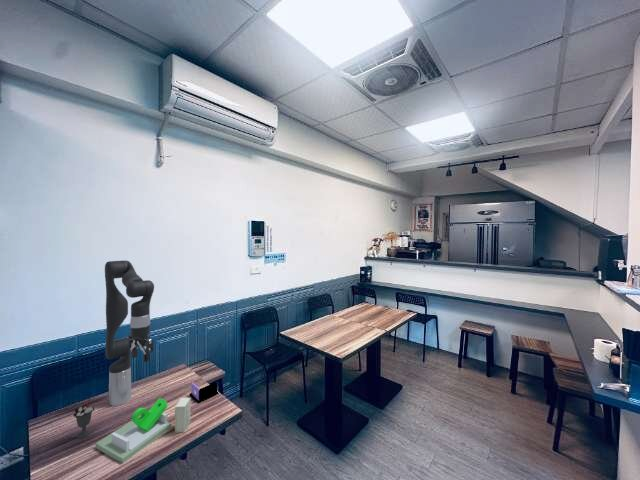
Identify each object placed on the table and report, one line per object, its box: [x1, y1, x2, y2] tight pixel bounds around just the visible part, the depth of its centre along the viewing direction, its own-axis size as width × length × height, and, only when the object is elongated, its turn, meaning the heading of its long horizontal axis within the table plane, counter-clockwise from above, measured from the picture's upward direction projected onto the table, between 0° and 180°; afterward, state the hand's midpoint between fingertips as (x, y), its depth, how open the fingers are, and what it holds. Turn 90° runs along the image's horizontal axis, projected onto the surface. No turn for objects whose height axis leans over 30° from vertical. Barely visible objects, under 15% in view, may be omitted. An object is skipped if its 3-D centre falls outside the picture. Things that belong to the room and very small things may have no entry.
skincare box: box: [174, 397, 192, 433], centre depth 116 cm, size 6×4×12 cm
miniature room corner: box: [189, 381, 220, 404], centre depth 141 cm, size 12×12×7 cm
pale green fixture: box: [95, 412, 172, 464], centre depth 111 cm, size 18×20×6 cm
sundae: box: [72, 398, 95, 440], centre depth 112 cm, size 7×7×15 cm
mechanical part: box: [131, 397, 168, 432], centre depth 115 cm, size 12×6×8 cm
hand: (140, 359), depth 118 cm, fingers open, 8 cm apart
